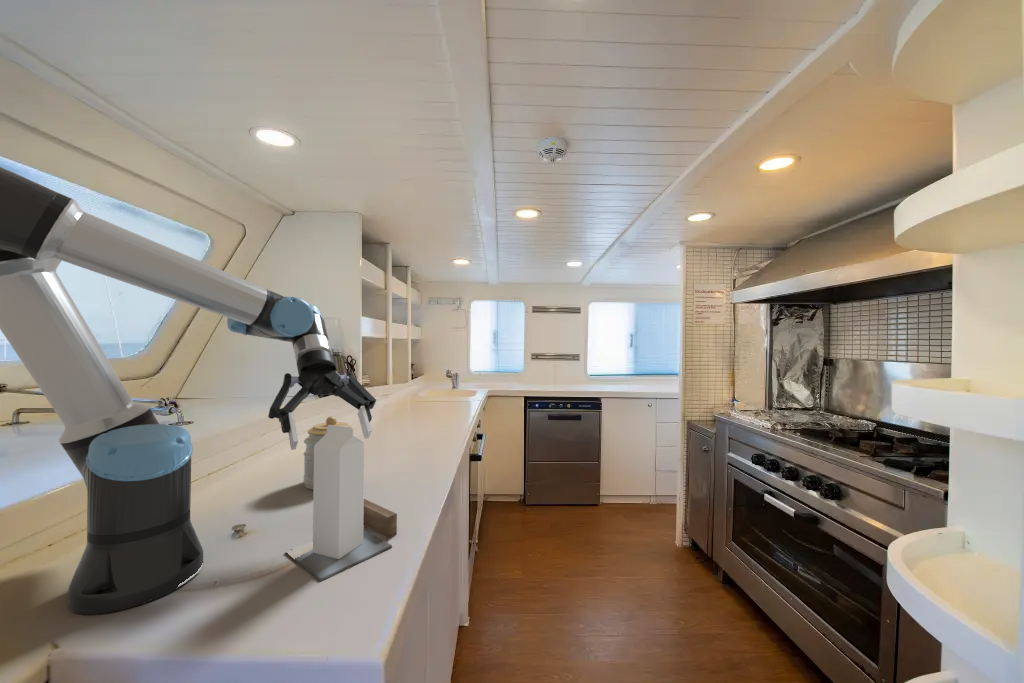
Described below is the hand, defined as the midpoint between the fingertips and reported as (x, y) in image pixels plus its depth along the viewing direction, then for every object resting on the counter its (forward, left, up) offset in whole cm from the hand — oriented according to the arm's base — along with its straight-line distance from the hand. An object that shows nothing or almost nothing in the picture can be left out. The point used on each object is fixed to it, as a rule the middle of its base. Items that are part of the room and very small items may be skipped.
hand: (333, 440), depth 76 cm
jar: (+14, +28, -19) cm, 36 cm away
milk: (-2, -7, -18) cm, 19 cm away
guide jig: (0, -1, -18) cm, 18 cm away
